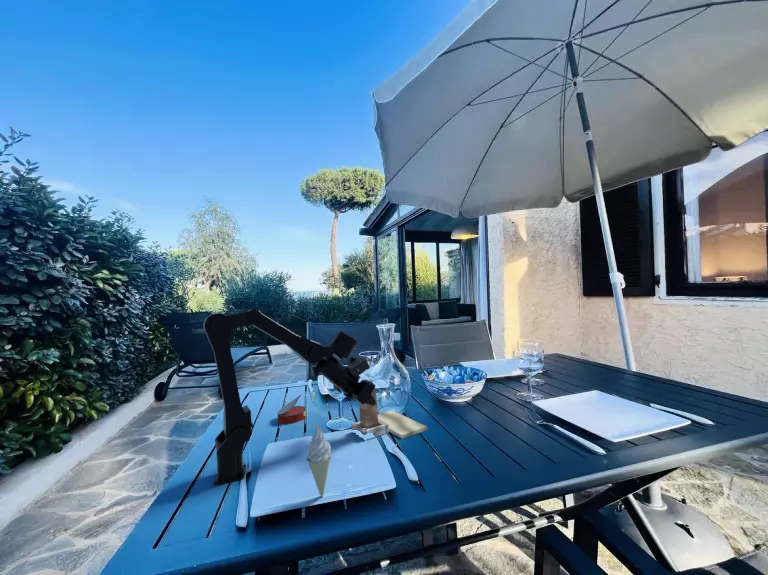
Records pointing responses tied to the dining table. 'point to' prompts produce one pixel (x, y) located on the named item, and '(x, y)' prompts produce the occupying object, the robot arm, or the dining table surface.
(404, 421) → the socket
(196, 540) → the dining table surface
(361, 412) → the peg
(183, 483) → the dining table surface
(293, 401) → the canned food
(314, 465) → the ice cream cone
